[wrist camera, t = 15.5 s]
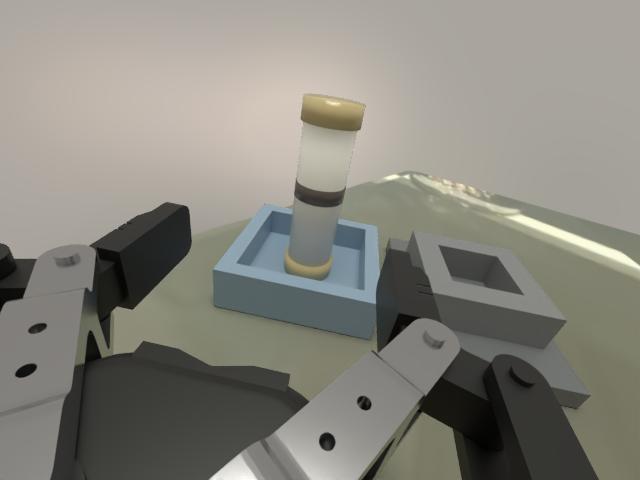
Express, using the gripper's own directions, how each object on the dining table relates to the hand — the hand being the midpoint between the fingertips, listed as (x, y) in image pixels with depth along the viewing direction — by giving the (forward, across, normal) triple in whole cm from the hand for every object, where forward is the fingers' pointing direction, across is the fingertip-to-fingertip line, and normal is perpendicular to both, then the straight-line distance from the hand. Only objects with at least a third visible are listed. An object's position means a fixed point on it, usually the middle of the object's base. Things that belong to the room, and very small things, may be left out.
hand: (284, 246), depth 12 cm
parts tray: (+12, 0, +10) cm, 16 cm away
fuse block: (+12, -14, +10) cm, 21 cm away
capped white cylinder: (+12, 0, +10) cm, 15 cm away
